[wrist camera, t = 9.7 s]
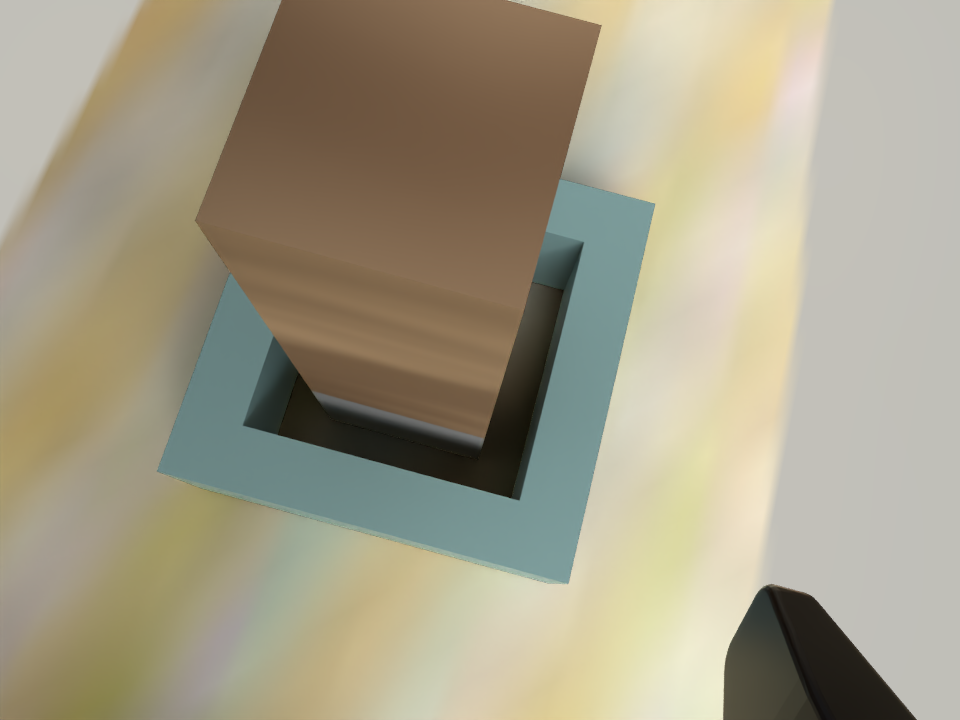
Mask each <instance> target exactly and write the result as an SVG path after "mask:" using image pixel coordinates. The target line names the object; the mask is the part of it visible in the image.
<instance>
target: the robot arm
mask: <svg viewBox="0 0 960 720" xmlns="http://www.w3.org/2000/svg"><path fill="white" fill-rule="evenodd" d="M723 720H917V719H916V718H915V717H914V716H913V715H912V713H911V712H910V711H909V710H908V709H907V707H906V706H905V705H904V704H903V703H902V701H901V700H900V699H899V698H898V697H897V696H896V695H895V693H894V692H893V691H892V690H891V688H890V687H889V686H888V685H887V684H886V682H885V681H884V680H883V679H882V678H881V677H880V675H879V674H878V673H877V672H876V671H875V669H874V668H873V667H872V666H871V665H870V664H869V663H868V661H867V660H866V659H865V657H864V656H863V655H862V654H861V653H860V652H859V650H858V649H857V648H856V647H855V646H854V644H853V643H852V642H851V641H850V640H849V638H848V637H847V636H846V635H845V634H844V632H843V631H842V630H841V629H840V628H839V627H838V625H837V624H836V623H835V622H834V621H833V620H832V618H831V617H830V616H829V615H828V614H827V612H826V611H825V610H824V609H823V607H822V606H821V605H820V604H819V603H818V602H817V601H816V600H815V599H814V598H813V597H812V596H811V595H809V594H806V593H804V592H800V591H796V590H793V589H789V588H785V587H782V586H778V585H774V584H770V585H766V586H764V587H763V588H761V589H760V590H759V592H758V593H757V595H756V596H755V598H754V600H753V602H752V604H751V606H750V607H749V609H748V611H747V613H746V615H745V617H744V619H743V620H742V622H741V624H740V626H739V628H738V630H737V632H736V633H735V635H734V637H733V639H732V641H731V643H730V645H729V648H728V651H727V655H726V660H725V669H724V707H723Z"/></svg>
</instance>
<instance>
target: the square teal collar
mask: <svg viewBox="0 0 960 720" xmlns="http://www.w3.org/2000/svg"><path fill="white" fill-rule="evenodd" d="M654 207H655V204H654V203H650V202H646V201H642V200H639V199H635V198H631V197H627V196H623V195H620V194H616V193H612V192H608V191H604V190H600V189H597V188H593V187H589V186H585V185H581V184H578V183H574V182H570V181H566V180H562V179H560V180H559V184H558V188H557V191H556V195H555V199H554V202H553V206H552V210H551V214H550V217H549V221H548V225H547V228H546V232H545V236H544V239H543V243H542V247H541V250H540V254H539V258H538V261H537V265H536V269H535V272H534V276H533V280H532V282H535V283H538V284H542V285H546V286H550V287H554V288H557V289H561V290H564V292H563V296H562V299H561V303H560V307H559V311H558V315H557V319H556V323H555V327H554V331H553V335H552V339H551V343H550V347H549V351H548V355H547V359H546V363H545V367H544V371H543V375H542V379H541V383H540V387H539V391H538V394H537V398H536V402H535V406H534V410H533V414H532V418H531V422H530V426H529V430H528V434H527V438H526V442H525V446H524V450H523V454H522V458H521V462H520V466H519V470H518V474H517V478H516V482H515V486H514V489H513V493H512V497H511V498H508V497H504V496H500V495H497V494H493V493H489V492H486V491H482V490H478V489H474V488H471V487H467V486H463V485H460V484H456V483H452V482H449V481H445V480H441V479H438V478H434V477H430V476H427V475H423V474H419V473H416V472H412V471H408V470H405V469H401V468H397V467H393V466H390V465H386V464H382V463H379V462H375V461H371V460H368V459H364V458H360V457H357V456H353V455H349V454H346V453H342V452H338V451H335V450H331V449H327V448H324V447H320V446H316V445H312V444H309V443H305V442H301V441H298V440H294V439H290V438H287V437H283V436H279V435H278V432H279V429H280V426H281V423H282V420H283V417H284V414H285V411H286V408H287V405H288V402H289V399H290V396H291V393H292V390H293V387H294V384H295V381H296V378H297V375H298V370H297V369H296V367H295V366H294V365H293V363H292V362H291V360H290V359H289V357H288V356H287V354H286V353H285V351H284V350H283V348H282V347H281V346H280V344H279V343H278V341H277V340H276V338H275V337H274V335H273V334H272V332H271V331H270V329H269V328H268V327H267V325H266V324H265V322H264V321H263V319H262V318H261V316H260V315H259V313H258V312H257V310H256V309H255V308H254V306H253V305H252V303H251V302H250V300H249V299H248V297H247V296H246V294H245V293H244V291H243V290H242V289H241V287H240V286H239V284H238V283H237V281H236V280H235V278H234V277H233V275H232V274H231V272H230V274H229V277H228V279H227V282H226V285H225V287H224V290H223V293H222V296H221V298H220V301H219V304H218V306H217V309H216V312H215V315H214V317H213V320H212V323H211V326H210V328H209V331H208V334H207V336H206V339H205V342H204V345H203V347H202V350H201V353H200V356H199V358H198V361H197V364H196V366H195V369H194V372H193V375H192V377H191V380H190V383H189V386H188V388H187V391H186V394H185V396H184V399H183V402H182V405H181V407H180V410H179V413H178V415H177V418H176V421H175V424H174V426H173V429H172V432H171V435H170V437H169V440H168V443H167V445H166V448H165V451H164V454H163V456H162V459H161V462H160V465H159V467H158V470H157V472H160V473H162V474H165V475H168V476H170V477H173V478H175V479H178V480H181V481H183V482H186V483H189V484H191V485H194V486H196V487H199V488H202V489H205V490H209V491H213V492H216V493H220V494H224V495H227V496H231V497H235V498H238V499H242V500H246V501H249V502H253V503H257V504H260V505H264V506H268V507H271V508H275V509H279V510H282V511H286V512H289V513H293V514H297V515H300V516H304V517H308V518H311V519H315V520H319V521H322V522H326V523H330V524H333V525H337V526H341V527H344V528H348V529H352V530H355V531H359V532H363V533H366V534H370V535H374V536H377V537H381V538H385V539H388V540H392V541H395V542H399V543H403V544H406V545H410V546H414V547H417V548H421V549H425V550H428V551H432V552H436V553H439V554H443V555H447V556H450V557H454V558H458V559H461V560H465V561H469V562H472V563H476V564H480V565H483V566H487V567H490V568H494V569H498V570H501V571H505V572H509V573H512V574H516V575H520V576H523V577H527V578H531V579H534V580H538V581H542V582H545V583H555V584H568V583H569V579H570V574H571V570H572V565H573V561H574V557H575V552H576V548H577V544H578V539H579V535H580V530H581V526H582V522H583V517H584V513H585V509H586V504H587V500H588V495H589V491H590V487H591V482H592V478H593V474H594V469H595V465H596V460H597V456H598V452H599V447H600V443H601V439H602V434H603V430H604V425H605V421H606V417H607V412H608V408H609V404H610V399H611V395H612V390H613V386H614V382H615V377H616V373H617V369H618V364H619V360H620V355H621V351H622V347H623V342H624V338H625V334H626V329H627V325H628V320H629V316H630V312H631V307H632V303H633V299H634V294H635V290H636V285H637V281H638V277H639V272H640V268H641V264H642V259H643V255H644V250H645V246H646V242H647V237H648V233H649V229H650V224H651V220H652V215H653V211H654Z"/></svg>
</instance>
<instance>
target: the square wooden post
mask: <svg viewBox="0 0 960 720" xmlns="http://www.w3.org/2000/svg"><path fill="white" fill-rule="evenodd" d="M601 26H602V25H598V24H594V23H590V22H587V21H583V20H579V19H575V18H571V17H568V16H564V15H560V14H556V13H552V12H549V11H545V10H541V9H537V8H534V7H530V6H526V5H522V4H518V3H515V2H511V1H507V0H282V1H281V4H280V6H279V9H278V11H277V14H276V16H275V19H274V22H273V24H272V27H271V29H270V32H269V34H268V37H267V39H266V42H265V44H264V47H263V50H262V52H261V55H260V57H259V60H258V62H257V65H256V67H255V70H254V72H253V75H252V78H251V80H250V83H249V85H248V88H247V90H246V93H245V95H244V98H243V100H242V103H241V105H240V108H239V111H238V113H237V116H236V118H235V121H234V123H233V126H232V128H231V131H230V133H229V136H228V139H227V141H226V144H225V146H224V149H223V151H222V154H221V156H220V159H219V161H218V164H217V167H216V169H215V172H214V174H213V177H212V179H211V182H210V184H209V187H208V189H207V192H206V195H205V197H204V200H203V202H202V205H201V207H200V210H199V212H198V215H197V217H196V220H195V221H196V223H197V224H198V226H199V227H200V229H201V230H202V232H203V233H204V234H205V236H206V237H207V239H208V240H209V242H210V243H211V245H212V246H213V248H214V249H215V251H216V252H217V253H218V255H219V256H220V258H221V259H222V261H223V262H224V264H225V265H226V267H227V268H228V270H229V271H230V272H231V274H232V275H233V277H234V278H235V280H236V281H237V283H238V284H239V286H240V287H241V289H242V290H243V291H244V293H245V294H246V296H247V297H248V299H249V300H250V302H251V303H252V305H253V306H254V308H255V309H256V310H257V312H258V313H259V315H260V316H261V318H262V319H263V321H264V322H265V324H266V325H267V327H268V328H269V329H270V331H271V332H272V334H273V335H274V337H275V338H276V340H277V341H278V343H279V344H280V346H281V347H282V348H283V350H284V351H285V353H286V354H287V356H288V357H289V359H290V360H291V362H292V363H293V365H294V366H295V367H296V369H297V370H298V372H299V373H300V375H301V376H302V378H303V379H304V381H305V382H306V384H307V385H308V386H309V388H310V389H311V391H312V392H313V394H314V395H315V397H316V398H317V400H318V401H319V403H320V404H321V405H322V407H323V408H324V410H325V411H326V413H327V414H328V416H329V417H330V419H332V420H336V421H339V422H343V423H346V424H350V425H354V426H357V427H361V428H364V429H368V430H372V431H375V432H379V433H382V434H386V435H390V436H393V437H397V438H400V439H404V440H408V441H411V442H415V443H418V444H422V445H426V446H429V447H433V448H436V449H440V450H444V451H447V452H451V453H455V454H458V455H462V456H465V457H469V458H473V459H476V460H478V458H479V455H480V452H481V448H482V445H483V442H484V439H485V436H486V432H487V429H488V426H489V423H490V419H491V416H492V413H493V410H494V406H495V403H496V400H497V397H498V394H499V390H500V387H501V384H502V381H503V377H504V374H505V371H506V368H507V364H508V361H509V358H510V355H511V351H512V348H513V345H514V342H515V339H516V335H517V332H518V329H519V326H520V322H521V319H522V316H523V313H524V309H525V306H526V302H527V298H528V295H529V291H530V287H531V284H532V280H533V276H534V272H535V269H536V265H537V261H538V258H539V254H540V250H541V247H542V243H543V239H544V236H545V232H546V228H547V225H548V221H549V217H550V214H551V210H552V206H553V202H554V199H555V195H556V191H557V188H558V184H559V180H560V177H561V173H562V169H563V166H564V162H565V158H566V155H567V151H568V147H569V144H570V140H571V136H572V133H573V129H574V125H575V121H576V118H577V114H578V110H579V107H580V103H581V99H582V96H583V92H584V88H585V85H586V81H587V77H588V74H589V70H590V66H591V63H592V59H593V55H594V51H595V48H596V44H597V40H598V37H599V33H600V29H601Z"/></svg>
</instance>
